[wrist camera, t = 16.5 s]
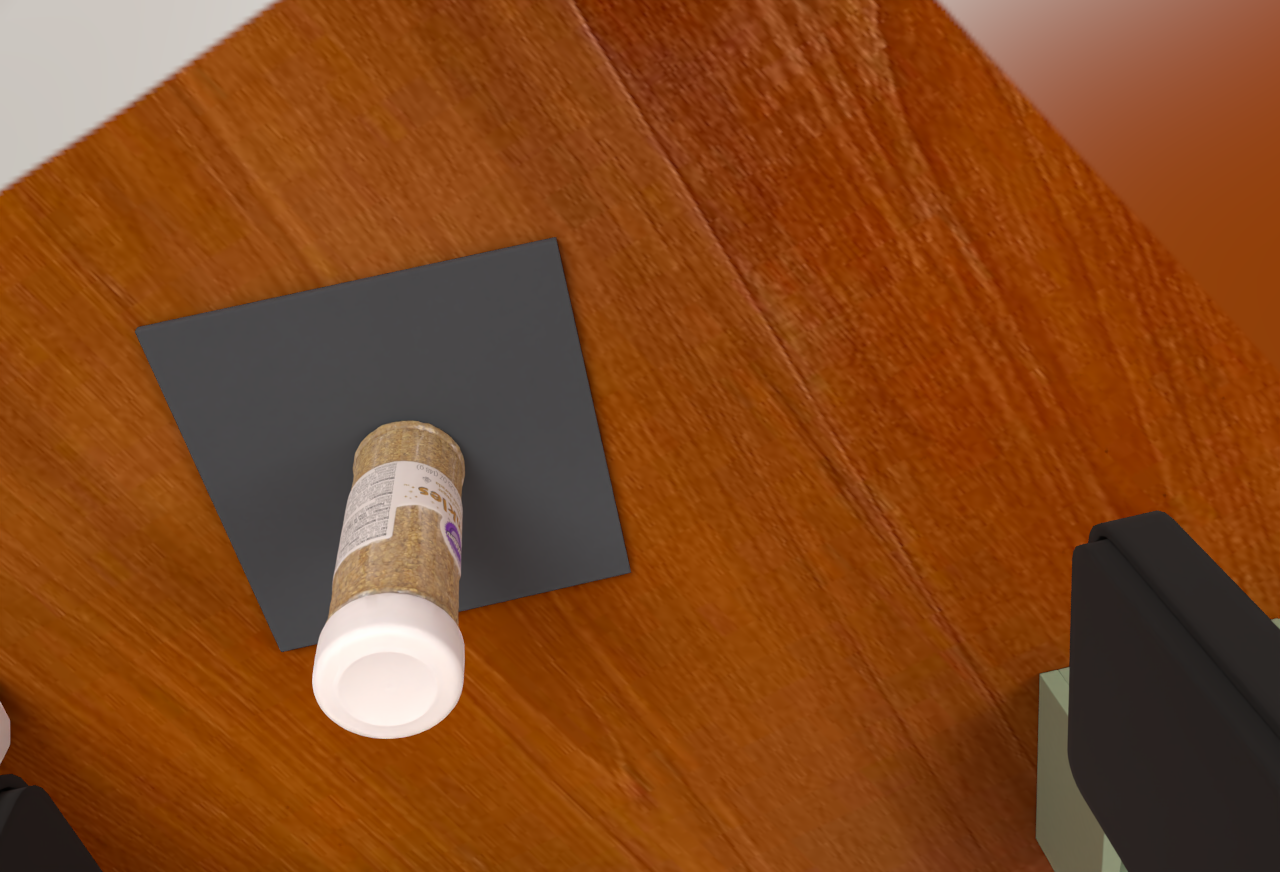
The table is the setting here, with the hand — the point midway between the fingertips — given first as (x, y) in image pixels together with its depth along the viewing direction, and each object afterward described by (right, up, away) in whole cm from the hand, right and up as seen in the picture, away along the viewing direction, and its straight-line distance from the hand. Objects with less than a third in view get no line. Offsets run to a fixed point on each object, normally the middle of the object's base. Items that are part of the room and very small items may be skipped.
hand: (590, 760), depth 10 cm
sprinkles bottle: (-9, +2, +35) cm, 36 cm away
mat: (-9, +2, +35) cm, 36 cm away
